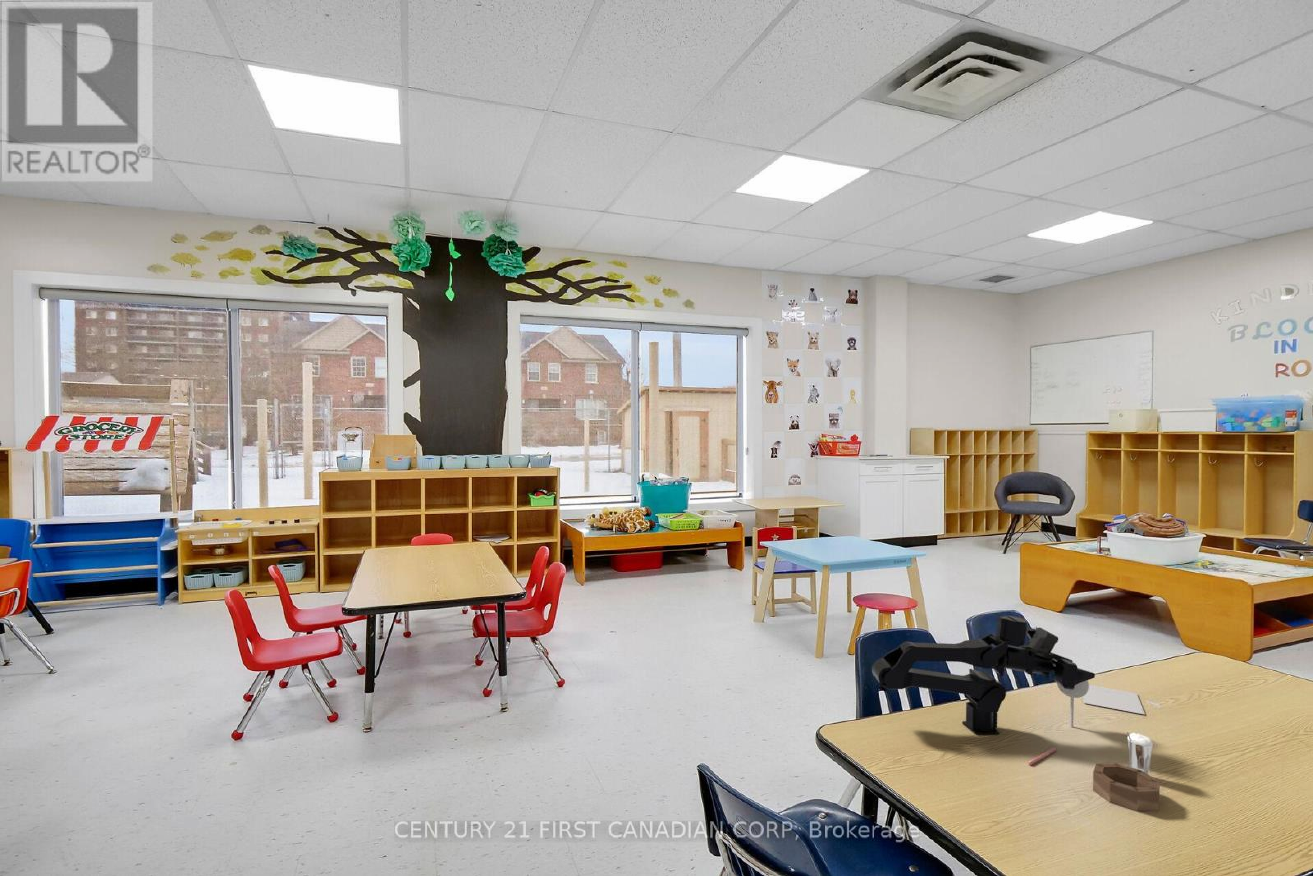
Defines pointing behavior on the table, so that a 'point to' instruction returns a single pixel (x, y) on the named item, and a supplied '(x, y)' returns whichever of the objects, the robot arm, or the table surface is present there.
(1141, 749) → the milkshake
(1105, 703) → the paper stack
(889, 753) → the table surface
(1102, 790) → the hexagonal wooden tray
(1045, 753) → the pink rod
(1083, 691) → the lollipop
